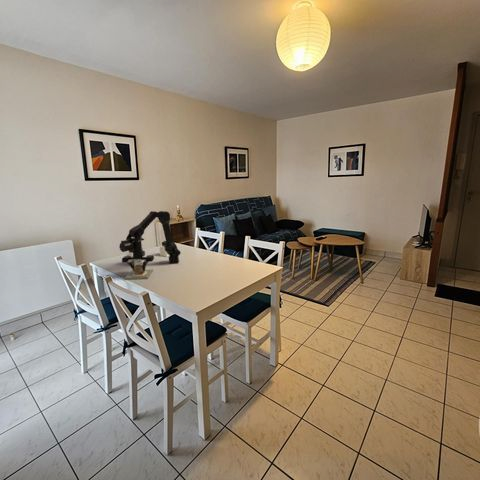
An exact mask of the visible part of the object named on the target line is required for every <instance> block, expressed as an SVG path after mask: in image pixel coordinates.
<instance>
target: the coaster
mask: <svg viewBox="0 0 480 480" xmlns="http://www.w3.org/2000/svg"><path fill="white" fill-rule="evenodd" d="M152 272H153V273H154V269H145V272H144V273H143V275H135V274H134V271H133V269H132V270H131V271H130V272H129V273H128V274H127V275H126V276H125V277H124V280H126V281H127V280H148V279H149V278H150V277H151V275H152V274H153V273H152Z"/></svg>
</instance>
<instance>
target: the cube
mask: <svg viewBox="0 0 480 480" xmlns="http://www.w3.org/2000/svg"><path fill="white" fill-rule="evenodd" d="M134 266H135V267H134V274H135V275H143V273H144V272H145V271H144V270H143V264H138V265H134Z"/></svg>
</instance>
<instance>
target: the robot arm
mask: <svg viewBox="0 0 480 480" xmlns="http://www.w3.org/2000/svg"><path fill="white" fill-rule="evenodd" d="M156 218H157V220H158V221H159V223H160V224H161V227H162V230H163V234H164V239H165V241H166V245H164V247H165V251H166V252H167V254H169V256H168V262H169V264H170V265H171V264H179V262H180V257H179V256H180V255H181V253H182V252H181V250H180V249H178V246H177V244H176V243H175V242H174V239H173V234H172V230H171V226H170V221H171V212H169V211H165V210H163V211H162V210H160V211H153V210H151V211H150V212H149V213H148V215H146V216H145V218H144V219H142V220H141V222H140V223H138V224H137V225H135V226H133V227H132V228H131V229H129V231H128V234H127V236H126V238H125V240H121V241H120V243H119V250H120V251H121V252H122V253H125V252H129V250H133V251H132V253H133V257H131V256H127V255H124V256H123V257H122V258H121V263H126V264H128V265H129V267H130V268H131V269H132V270H133V271H134V267H135V266H136V265H134V260H142V265H143V270H144V271H145V270H146V267H147V264H148V263H151V262H153V261H154V260H155V255H153V254H149V255H146V250H143V245H142V241H145V239H144V238H143V235H144V234H145V231H146V229H147V228H148V226H150V225H151V223H153V221H154V220H155V219H156Z"/></svg>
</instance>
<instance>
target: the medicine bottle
mask: <svg viewBox="0 0 480 480" xmlns="http://www.w3.org/2000/svg"><path fill="white" fill-rule="evenodd" d="M164 245H166V240H161V246H159V255H160V257H166V258H167V257H169V254H167V252H166V251H165V247H164Z"/></svg>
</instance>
